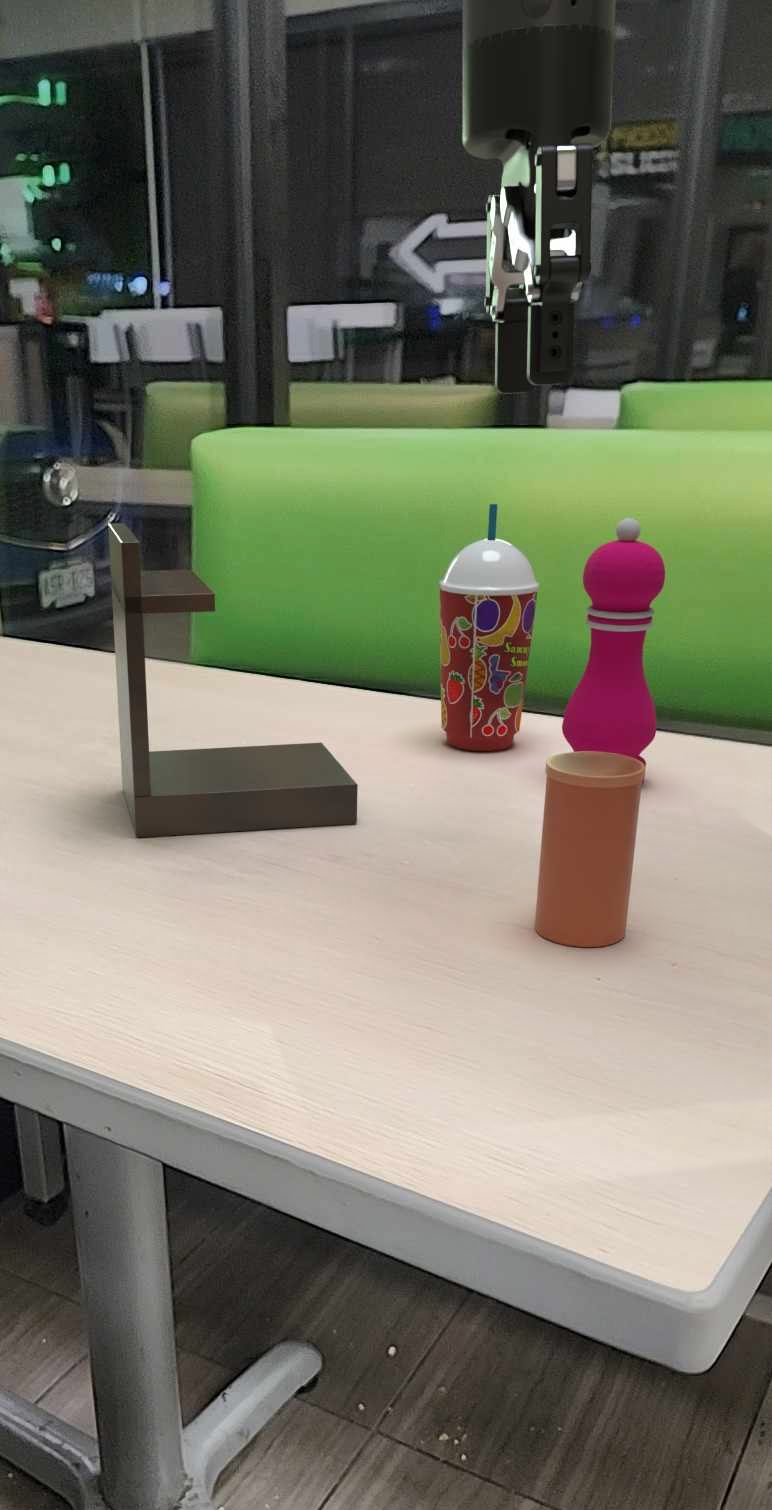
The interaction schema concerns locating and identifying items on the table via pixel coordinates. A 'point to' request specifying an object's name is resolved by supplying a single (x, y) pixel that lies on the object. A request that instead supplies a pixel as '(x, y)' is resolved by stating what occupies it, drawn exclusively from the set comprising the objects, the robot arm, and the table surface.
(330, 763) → the stand
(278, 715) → the table surface
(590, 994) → the table surface
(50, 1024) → the table surface
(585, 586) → the pepper mill
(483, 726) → the smoothie
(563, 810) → the tumbler
